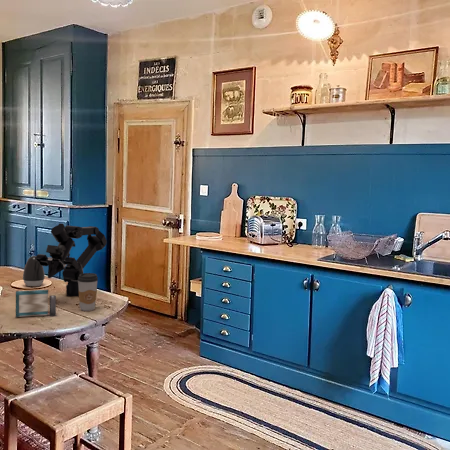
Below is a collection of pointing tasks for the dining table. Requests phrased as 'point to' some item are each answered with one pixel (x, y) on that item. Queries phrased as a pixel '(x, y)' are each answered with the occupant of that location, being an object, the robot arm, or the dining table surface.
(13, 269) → the dining table surface
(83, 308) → the coffee cup
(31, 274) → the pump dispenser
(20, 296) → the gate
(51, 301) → the gate posts
